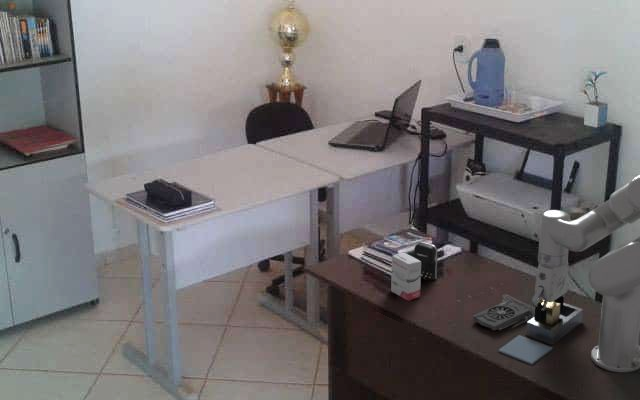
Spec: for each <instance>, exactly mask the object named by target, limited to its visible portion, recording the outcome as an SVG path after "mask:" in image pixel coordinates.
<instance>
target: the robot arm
mask: <svg viewBox="0 0 640 400" xmlns="http://www.w3.org/2000/svg"><path fill="white" fill-rule="evenodd" d="M638 220H640V174H639V175H637V176H635V177H634V178H632V179H631V181H629V182H628V183H626V184H625V185H623V186H621V187H620V188H618V189H617V190H615V191H614V192H613V193H611V194H610V196H609V199H608V200H606V201H605V202H603V203H602V204H600V205H598V206H597V207H595V208H593V209H592V210H590V211H589V212H587V213H585V214H583V215H582V216H580V217H577V218H576V219H574V220H571V216H570V214H568V212H566V211H564V210H559V209H549V210H546V211H544V212H543V213H542V214H541V216H540V224H539V225H540V226H539V239H538V240H539V241H538V255H537V262H538V264H537V265H538V266H537V272H536V277H535V284H534V285H535V286H534V287H535V289H534V295H533V296H532V298H531V301H532V305H533V308H535V311H534V313H535V317H534V319H535V320H536V321H539V322H541V323H546V315H547V310H546V306H547V303H548V302H553V301H554V302H557V303H560V311H562V310H563V305H564V303H565V296H566V293H567V292H568V291H569V279H570V278H569V277H570V275H569V274H570V273H569V271H570V268H569V261H568V260H569V251H571V252H575V253H577V252H579V253H580V252H583V251H585V250H587V249H589V248H590V247H591V246H593V245H595V244H596V243H597V242H600V241H602V240H603V239H604V238H606V237H607V236H609V235H611V234H612V233H614V232H615V231H617V230H619V229H621V228H623V227H624V226H625V225H627V224H630V225H631V224H633V223H635V222H636V221H638ZM588 270H589V271H588V282H589V284H590V286H591V288H592V289H593V291H594V292H596V293H597V294H599V295H601V296H602V302H601V310H600V311H601V314H600V322H599V334H598V342H597V343H598V344H597V345H596V346H594V347H593V348H592V349H591V352H590V358H591V360H592V362H593V363H594V364H595V365H597V366H598V367H600V368H602V369H604V370H607V371H610V372H614V373H630V372H631V373H632V372H634V371H637V370H639V369H640V345H639V341H640V236H639V237H637V238H636V239H634V240H632V241H631V242H629V243H624V244H621V245H618V246H616V247H615V248H614V249H611V250H610V251H609V252H607V253H606V254H605V255H603V256H602V257H600V258H598V259H597V260H596V261H594V262H593V263H592V265H591V266H590V268H589V269H588ZM542 296H543V297H542ZM541 301H543V302H544V303H543V305H542V304H541V303H542V302H541Z"/></svg>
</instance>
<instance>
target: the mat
mask: <svg viewBox="0 0 640 400" xmlns="http://www.w3.org/2000/svg"><path fill="white" fill-rule="evenodd" d="M552 350H553V347H552V346H549V345H546V344H544V343H541V342H539V341H537V340H533V339H531V338H528V337H525V336H522V335H521V334H518V335H517V336H516V337H513V339H512V340H510V341H509V342H507V343H506V344H505V345H503V346H502V347H501V348H499V349H498V352H499V353H501V354H504V355H506V356H509V357H512V358H514V359H516V360H519V361H522V362H524V363H527V364H529V365H531V366H532V365H534V364H535V363H536V362H537V361H539V360H540V359H541V358H543V357H544V356H545V355H546V354H548V353H549V352H551V351H552Z"/></svg>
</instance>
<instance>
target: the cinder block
mask: <svg viewBox="0 0 640 400" xmlns="http://www.w3.org/2000/svg"><path fill="white" fill-rule="evenodd" d="M583 314H584V309H583V308H580V307H578V306H574V305H572V304H569V303H565V302H564V305H563V310H562V311H560V316H559V323H558V324H557V325H556V326H554V327H553V328H552V327H549V326H547V325H544V324H541V323H538V321H536V320H535V319H534V317H533V318H532V319H530V320H529V321H526V329H525V331H526V332H525V334H526V336H528V337H530V338H533V339H536V340H539V341H542V342H544V343H547V344H550V345H554V344H556V343H557V342H558V341H560V340H561V339H562V338H563V337H565V336H566V335H567V334H569V333H570V332H571V331H573V330H574V329H575V328H577V327H578V326H579V325H580V324H582V323H583V318H584V317H583V316H584V315H583Z"/></svg>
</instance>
